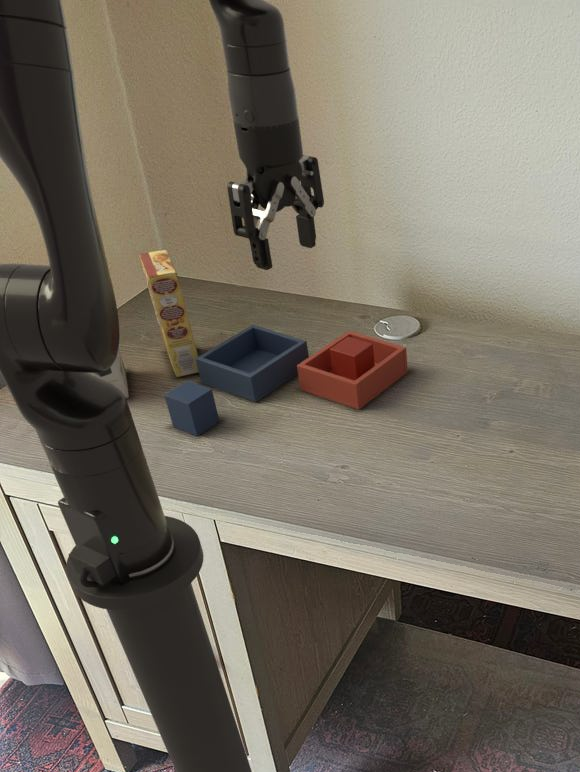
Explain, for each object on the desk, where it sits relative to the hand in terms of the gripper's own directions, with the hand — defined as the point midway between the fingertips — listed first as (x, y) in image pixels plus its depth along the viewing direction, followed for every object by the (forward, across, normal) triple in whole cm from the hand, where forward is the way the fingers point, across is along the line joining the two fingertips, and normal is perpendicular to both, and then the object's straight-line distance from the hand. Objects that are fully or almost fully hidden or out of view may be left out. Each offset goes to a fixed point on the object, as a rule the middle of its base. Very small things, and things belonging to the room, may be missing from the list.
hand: (286, 257), depth 111 cm
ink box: (+20, +13, -27) cm, 36 cm away
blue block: (+20, +14, -9) cm, 26 cm away
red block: (+20, -8, +3) cm, 21 cm away
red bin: (+20, -8, +3) cm, 22 cm away
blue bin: (+20, -1, -11) cm, 23 cm away
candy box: (+20, +2, -23) cm, 31 cm away
